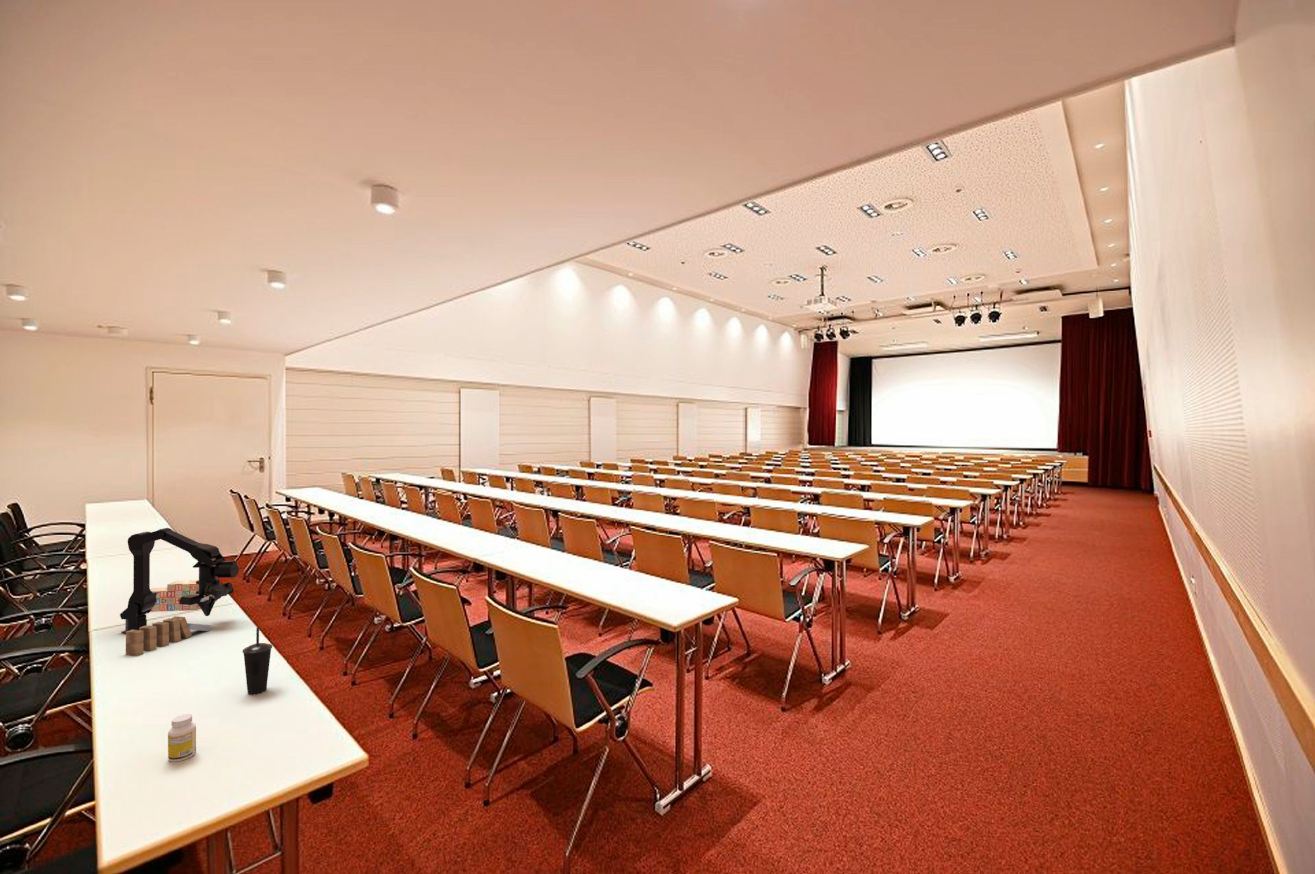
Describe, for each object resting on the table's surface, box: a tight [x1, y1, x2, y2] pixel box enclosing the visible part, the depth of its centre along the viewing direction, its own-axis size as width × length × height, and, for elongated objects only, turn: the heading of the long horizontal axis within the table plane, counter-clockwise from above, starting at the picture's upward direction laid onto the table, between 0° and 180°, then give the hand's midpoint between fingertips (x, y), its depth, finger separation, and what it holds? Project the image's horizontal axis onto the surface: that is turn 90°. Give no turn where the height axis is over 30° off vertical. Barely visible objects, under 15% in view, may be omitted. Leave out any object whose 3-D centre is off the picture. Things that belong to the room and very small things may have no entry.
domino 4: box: [162, 617, 182, 644], centre depth 219 cm, size 5×2×8 cm, turn 79°
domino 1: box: [125, 630, 144, 657], centre depth 207 cm, size 5×2×8 cm, turn 79°
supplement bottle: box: [167, 713, 197, 763], centre depth 143 cm, size 5×5×10 cm
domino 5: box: [171, 615, 193, 640], centre depth 223 cm, size 5×2×8 cm, turn 79°
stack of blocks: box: [150, 579, 205, 612], centre depth 259 cm, size 21×6×12 cm, turn 99°
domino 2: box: [139, 625, 157, 653], centre depth 211 cm, size 5×2×8 cm, turn 79°
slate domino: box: [187, 622, 212, 632], centre depth 228 cm, size 5×2×8 cm
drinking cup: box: [242, 627, 273, 696], centre depth 179 cm, size 8×8×20 cm
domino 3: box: [151, 621, 170, 648], centre depth 215 cm, size 5×2×8 cm, turn 79°
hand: (207, 615), depth 233 cm, fingers closed
